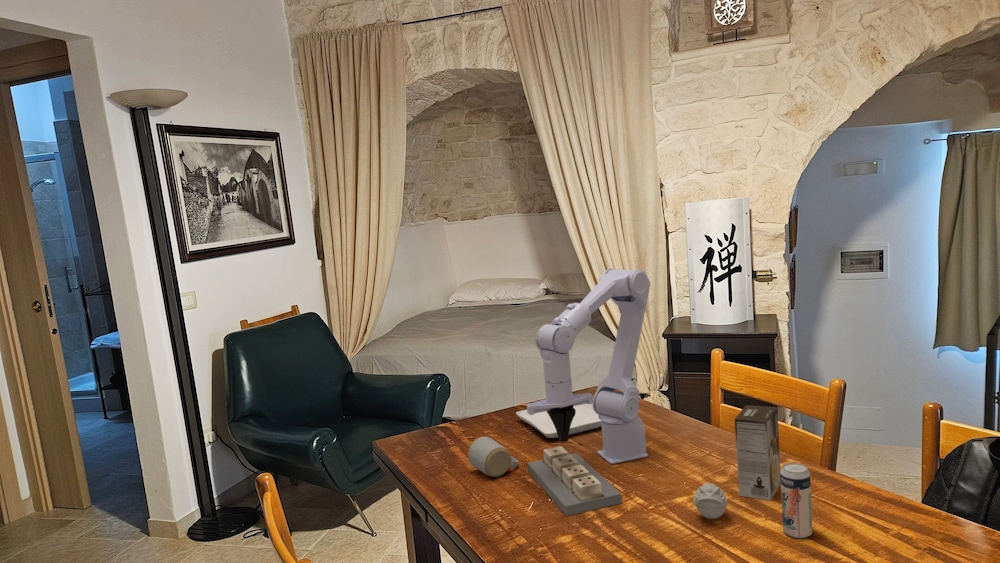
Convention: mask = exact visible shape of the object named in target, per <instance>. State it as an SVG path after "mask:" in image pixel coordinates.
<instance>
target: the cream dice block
mask: <svg viewBox="0 0 1000 563" xmlns="http://www.w3.org/2000/svg"><path fill="white" fill-rule="evenodd" d="M552 463H553V473H554V474H555V475H556V476H557V477H558V478H559V479H562V478H563V476H562V469H563V468H567V467H572V466H577V465H578V461H577V460H576V459H575V458H573V457H572V456H571V455H569V454H568V456H564V457H559V458H554V459H552Z"/></svg>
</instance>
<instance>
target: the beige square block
mask: <svg viewBox="0 0 1000 563" xmlns="http://www.w3.org/2000/svg"><path fill="white" fill-rule="evenodd" d="M572 480H573V492H574V495H575V496H576V497H577V498H578V500H579V501H580V502H582V501H587V500H591V499H596V498H600V497H602V487H601V483H600V482H599V481H598V480H597V479H596V478H595V477H594V476H593V475H590V476H585V477H581V478H576V479H572Z"/></svg>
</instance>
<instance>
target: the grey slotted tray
mask: <svg viewBox="0 0 1000 563" xmlns="http://www.w3.org/2000/svg"><path fill="white" fill-rule="evenodd" d="M568 455H571V456H572V457H573V458H575V459H576V460H577V461H578V465H582V466H583V467H584V468H585V469H586V470H587V471H589V475H593V476H594V477H595V478H596V479H597V480H598V481H599V482H600V483H601V487H602V497H600V498H596V499H591V500H587V501H582V502H581V501H580V500H579V499H578V498H577V497H576V496H575V495H574V492H573V489H572V490H569V489H568V488H567V487H566V486H565V484H564V483H563V478H562V479H559V478H558V477H557V476H556V475H555V474H554V473H553V468H552V469H550V468H549V467H548V466H547V465H546V464H545V463H544V459H540V460H536V461H530V462H527V463H526V464H527V471H528V473H529V474H530V475H531V476H532V478H533V479H534V480H535V481H536V482H537V483H538V485H539V486H540V487H541V488H542V489H543V490H544V492H545V493H546V494H547V495H548V496H549V498H551V500H552V501H553V502H554V504H555V505H556V506H557V507H558V508H559V509H560V510H561V512H562V513H563V514H564V515H565V517H567V516H572V515H577V514H580V513H586V512H590V511H594V510H598V509H599V510H600V509H603V508H607V507H612V506H616V505H620V504H623V500H622V499H623V497H622V493H621V492H620V491H619V490H618V489H617V488H616V487H614V486H613V485H612V484H611V483H610V482H609V481H608V480H607V479H606V478H604V476H603V475H601V474H600V473H599V472H598V471H597V470H596V469H594V468H593V467H592V466H591V465H590V464H589V463H588V462H587V461H586V460H585V459H584V458H582V456H580V455H579V454H578V453H577V452H575V453H568Z"/></svg>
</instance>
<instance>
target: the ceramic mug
mask: <svg viewBox="0 0 1000 563" xmlns="http://www.w3.org/2000/svg"><path fill="white" fill-rule="evenodd" d="M467 454H468V456H467V457H468V460H469V463H470V464H471V466H472V467H473V468H475V469H477V470H479V471H480V472H482V473H483V474H485V475H486V476H489V477H492V478H499V477H501V476H503V475H505V473H506V472H507V471H508V470H509V468H511V469H512V468H513V469H516V468H518V465H519V460H518V459H517V458H515V457H514V456H511V454H510V452H509V451H508V449H507V448H506V447H505V446H503V445H501V444H500V443H499V442H497V441H496V440H494V439H493V438H491V437H489V436H480V437H477V438H476V439H475V440H474V441H473V442H472V443H471V445H470V447H469V449H468V453H467Z"/></svg>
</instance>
